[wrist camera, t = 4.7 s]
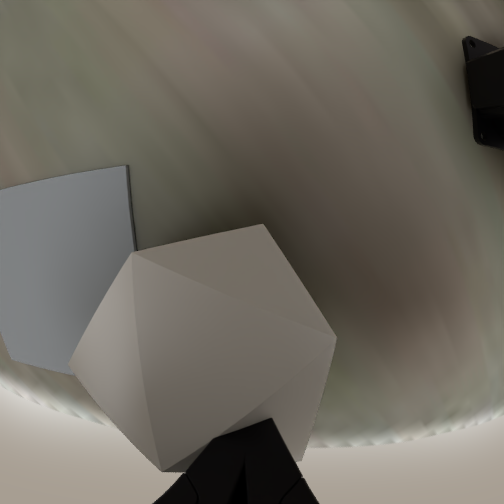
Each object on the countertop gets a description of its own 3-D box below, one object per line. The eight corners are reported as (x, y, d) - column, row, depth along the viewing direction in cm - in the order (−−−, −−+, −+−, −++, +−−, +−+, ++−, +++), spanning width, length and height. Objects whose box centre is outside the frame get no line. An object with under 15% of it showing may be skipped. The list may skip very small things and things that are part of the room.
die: (120, 266, 15) (-20, 374, 6) (264, 170, 13) (204, 190, 3) (210, 385, 17) (158, 533, 7) (352, 321, 15) (405, 497, 5)
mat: (128, 165, 13) (125, 165, 13) (164, 386, 17) (162, 389, 17) (-29, 197, 14) (-32, 198, 14) (13, 357, 18) (11, 359, 18)
